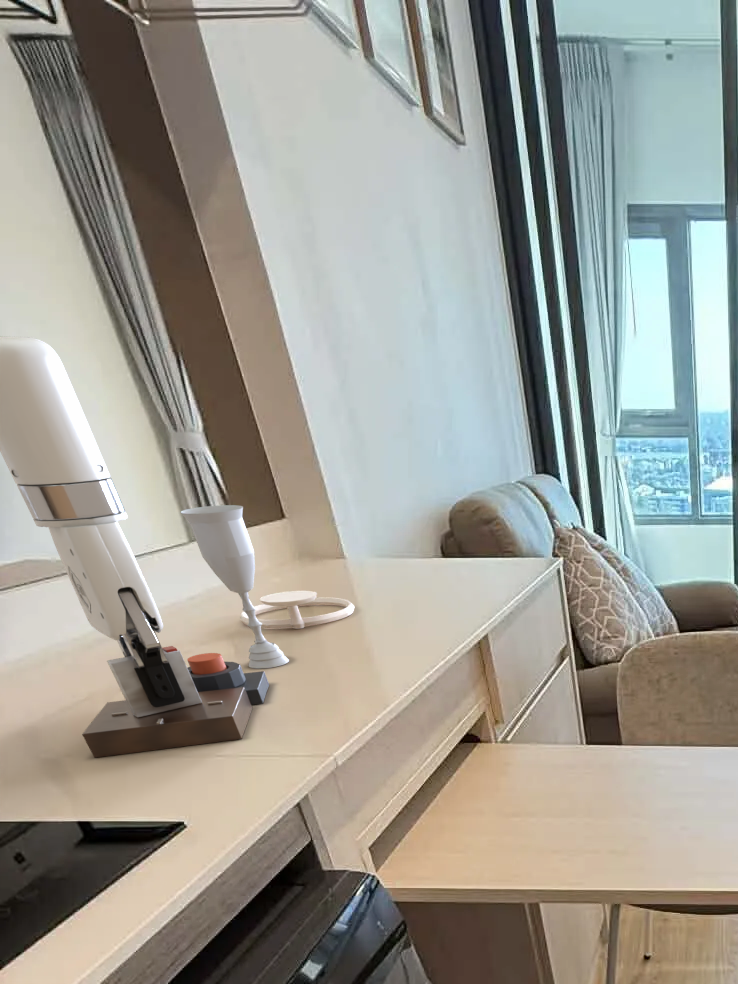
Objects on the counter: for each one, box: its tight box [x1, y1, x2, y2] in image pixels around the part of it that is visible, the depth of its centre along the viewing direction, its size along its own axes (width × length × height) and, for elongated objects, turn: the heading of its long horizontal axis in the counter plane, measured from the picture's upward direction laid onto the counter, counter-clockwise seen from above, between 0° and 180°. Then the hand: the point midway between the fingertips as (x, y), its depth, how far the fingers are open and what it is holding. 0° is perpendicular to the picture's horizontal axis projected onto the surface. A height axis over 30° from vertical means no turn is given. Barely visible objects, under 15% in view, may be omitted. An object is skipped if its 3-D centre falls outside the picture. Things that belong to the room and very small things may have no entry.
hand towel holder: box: [239, 590, 355, 630], centre depth 133 cm, size 17×4×21 cm
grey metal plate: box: [106, 645, 202, 717], centre depth 90 cm, size 6×2×6 cm, turn 135°
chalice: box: [180, 504, 290, 669], centre depth 109 cm, size 7×7×18 cm
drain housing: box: [187, 661, 270, 706], centre depth 101 cm, size 10×8×4 cm
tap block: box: [81, 687, 253, 758], centre depth 93 cm, size 14×11×3 cm
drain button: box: [186, 652, 227, 675], centre depth 100 cm, size 4×4×2 cm
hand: (164, 699), depth 91 cm, fingers closed on grey metal plate, 2 cm apart
